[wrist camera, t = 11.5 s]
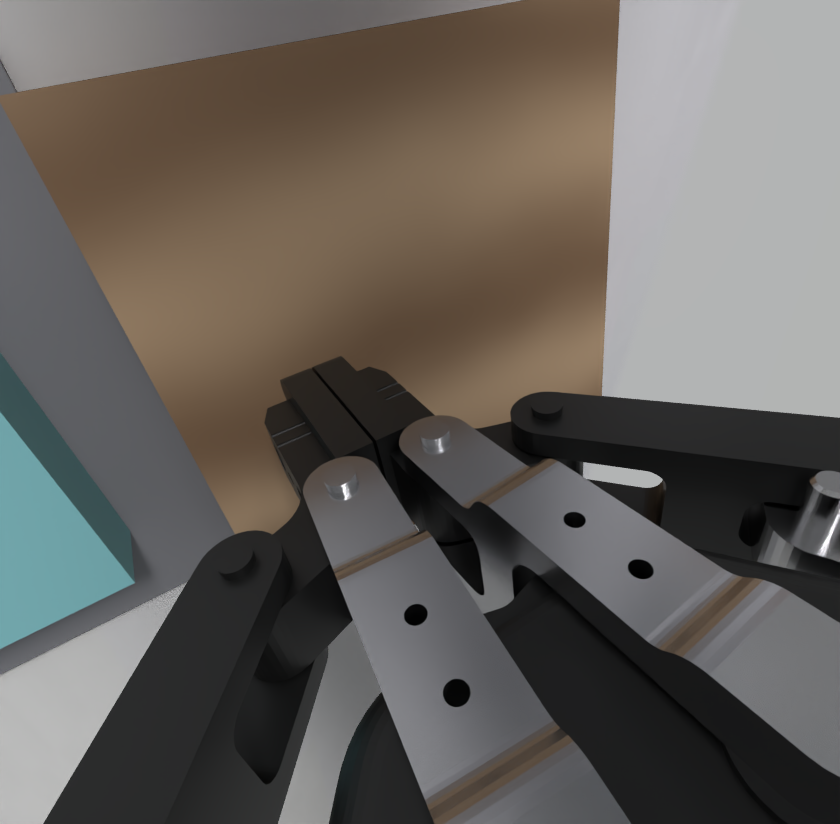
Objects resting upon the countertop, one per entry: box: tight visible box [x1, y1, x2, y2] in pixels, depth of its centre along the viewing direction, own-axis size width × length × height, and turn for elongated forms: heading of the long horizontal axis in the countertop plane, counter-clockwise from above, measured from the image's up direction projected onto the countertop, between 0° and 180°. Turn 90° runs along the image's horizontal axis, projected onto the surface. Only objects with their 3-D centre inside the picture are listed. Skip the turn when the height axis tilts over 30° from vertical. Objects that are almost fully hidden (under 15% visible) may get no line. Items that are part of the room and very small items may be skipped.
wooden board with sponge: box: [0, 0, 620, 535], centre depth 16 cm, size 14×14×4 cm
